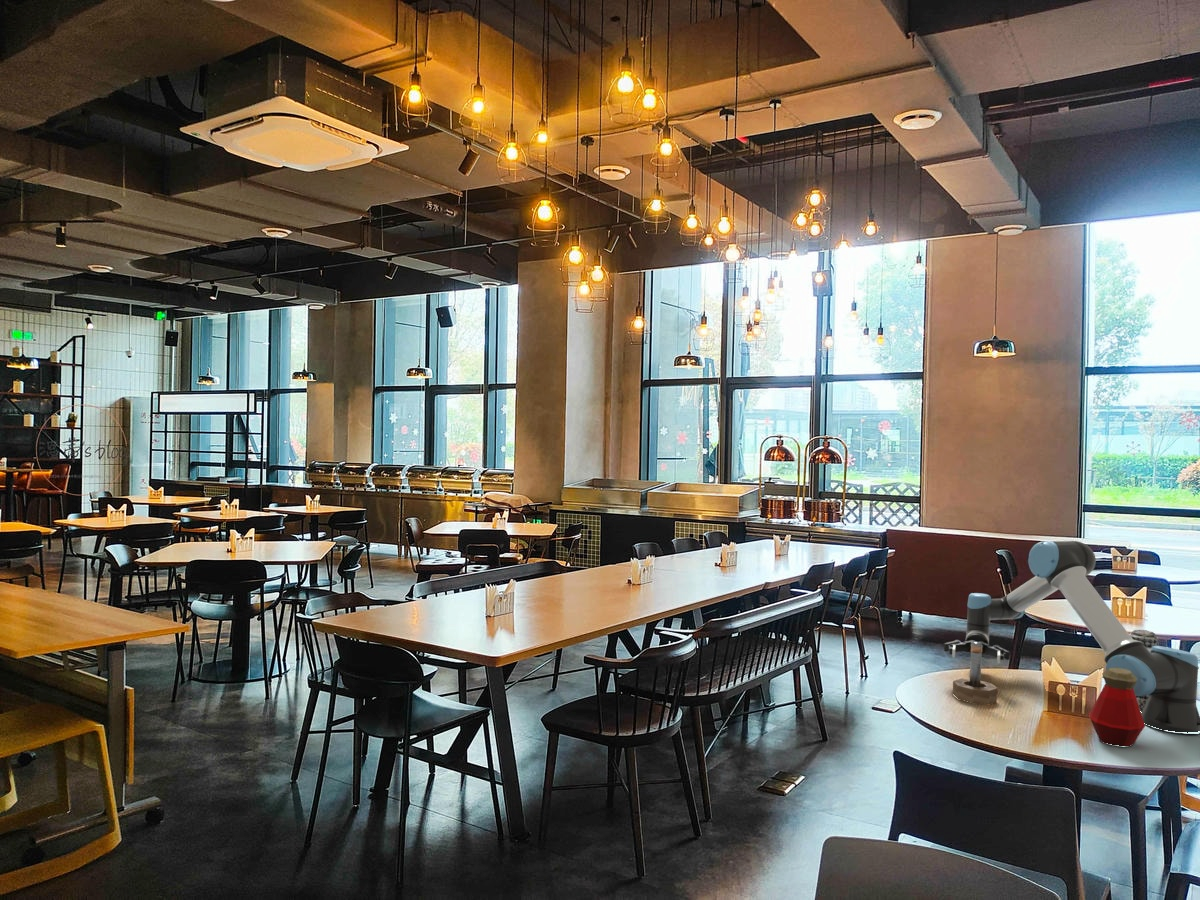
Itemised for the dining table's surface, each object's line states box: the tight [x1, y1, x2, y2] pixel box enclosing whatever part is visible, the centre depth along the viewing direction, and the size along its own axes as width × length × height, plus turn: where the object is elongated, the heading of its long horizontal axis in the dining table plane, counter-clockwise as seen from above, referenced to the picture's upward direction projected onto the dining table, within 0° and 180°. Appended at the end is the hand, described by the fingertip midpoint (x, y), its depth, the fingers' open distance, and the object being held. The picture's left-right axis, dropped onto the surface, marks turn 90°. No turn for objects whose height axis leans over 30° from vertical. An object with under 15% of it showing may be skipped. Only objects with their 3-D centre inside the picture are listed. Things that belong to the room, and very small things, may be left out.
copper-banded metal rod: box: [969, 642, 983, 688], centre depth 270 cm, size 3×3×18 cm
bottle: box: [1088, 668, 1146, 747], centre depth 234 cm, size 16×14×20 cm
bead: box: [952, 678, 998, 705], centre depth 270 cm, size 12×12×4 cm
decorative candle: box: [1128, 629, 1159, 712], centre depth 264 cm, size 9×9×25 cm
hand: (975, 656), depth 275 cm, fingers open, 13 cm apart
